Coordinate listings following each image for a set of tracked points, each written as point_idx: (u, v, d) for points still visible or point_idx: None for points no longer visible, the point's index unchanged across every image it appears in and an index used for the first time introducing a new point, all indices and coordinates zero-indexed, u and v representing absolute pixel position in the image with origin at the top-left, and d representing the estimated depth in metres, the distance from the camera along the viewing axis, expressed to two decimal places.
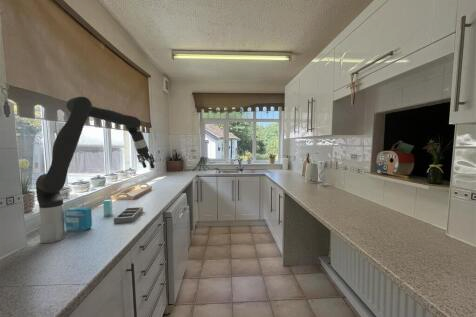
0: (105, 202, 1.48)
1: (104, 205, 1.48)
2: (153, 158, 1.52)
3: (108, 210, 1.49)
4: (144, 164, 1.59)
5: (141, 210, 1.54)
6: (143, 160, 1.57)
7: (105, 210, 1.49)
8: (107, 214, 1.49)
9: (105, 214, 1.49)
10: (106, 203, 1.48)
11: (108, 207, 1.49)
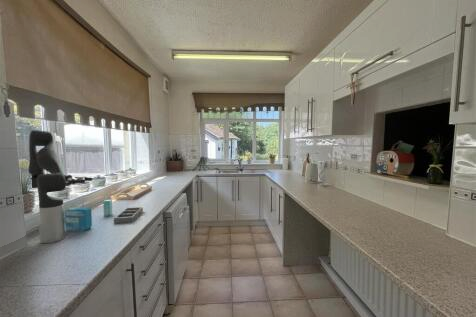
0: (105, 202, 1.48)
1: (104, 205, 1.48)
2: None
3: (108, 210, 1.49)
4: None
5: (141, 210, 1.54)
6: None
7: (105, 210, 1.49)
8: (107, 214, 1.49)
9: (105, 214, 1.49)
10: (106, 203, 1.48)
11: (108, 207, 1.49)
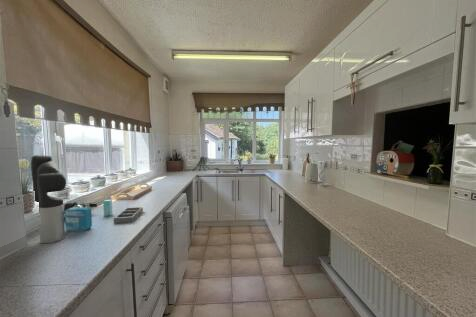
0: (105, 202, 1.48)
1: (104, 205, 1.48)
2: None
3: (108, 210, 1.49)
4: None
5: (141, 210, 1.54)
6: None
7: (105, 210, 1.49)
8: (107, 214, 1.49)
9: (105, 214, 1.49)
10: (106, 203, 1.48)
11: (108, 207, 1.49)
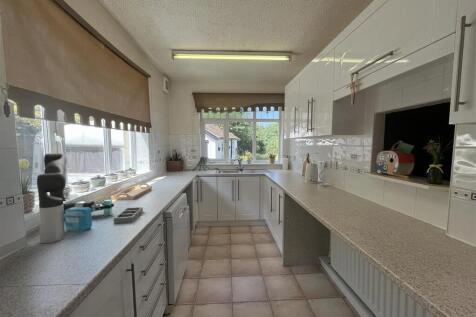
0: (105, 202, 1.48)
1: None
2: None
3: (108, 210, 1.49)
4: None
5: (141, 210, 1.54)
6: None
7: (105, 210, 1.49)
8: (107, 214, 1.49)
9: (105, 214, 1.49)
10: (106, 203, 1.48)
11: None
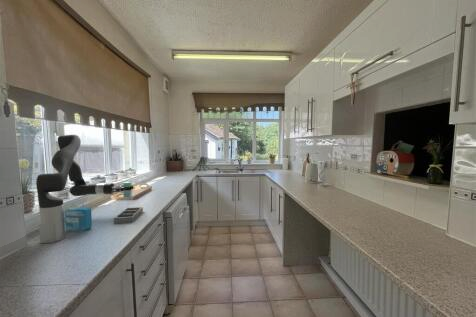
0: (125, 184, 1.49)
1: None
2: None
3: (128, 192, 1.50)
4: None
5: (141, 210, 1.54)
6: None
7: (125, 192, 1.50)
8: (127, 196, 1.50)
9: (125, 196, 1.50)
10: (126, 185, 1.50)
11: None
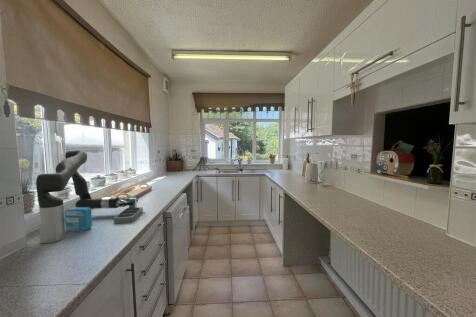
0: (130, 200, 1.50)
1: None
2: None
3: (133, 208, 1.51)
4: None
5: (141, 210, 1.54)
6: None
7: (130, 208, 1.51)
8: None
9: None
10: (131, 201, 1.50)
11: (133, 205, 1.51)
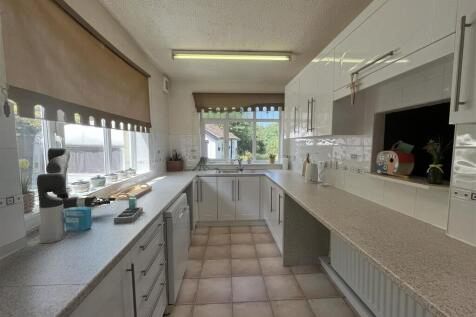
0: (130, 200, 1.50)
1: (129, 203, 1.50)
2: (106, 200, 1.56)
3: (133, 208, 1.51)
4: None
5: (141, 210, 1.54)
6: None
7: (130, 208, 1.51)
8: None
9: None
10: (131, 201, 1.50)
11: (133, 205, 1.51)
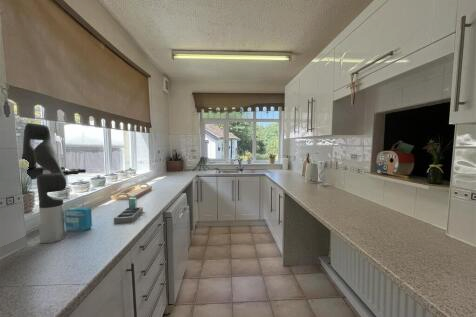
0: (130, 200, 1.50)
1: (129, 203, 1.50)
2: None
3: (133, 208, 1.51)
4: None
5: (141, 210, 1.54)
6: None
7: (130, 208, 1.51)
8: None
9: None
10: (131, 201, 1.50)
11: (133, 205, 1.51)
